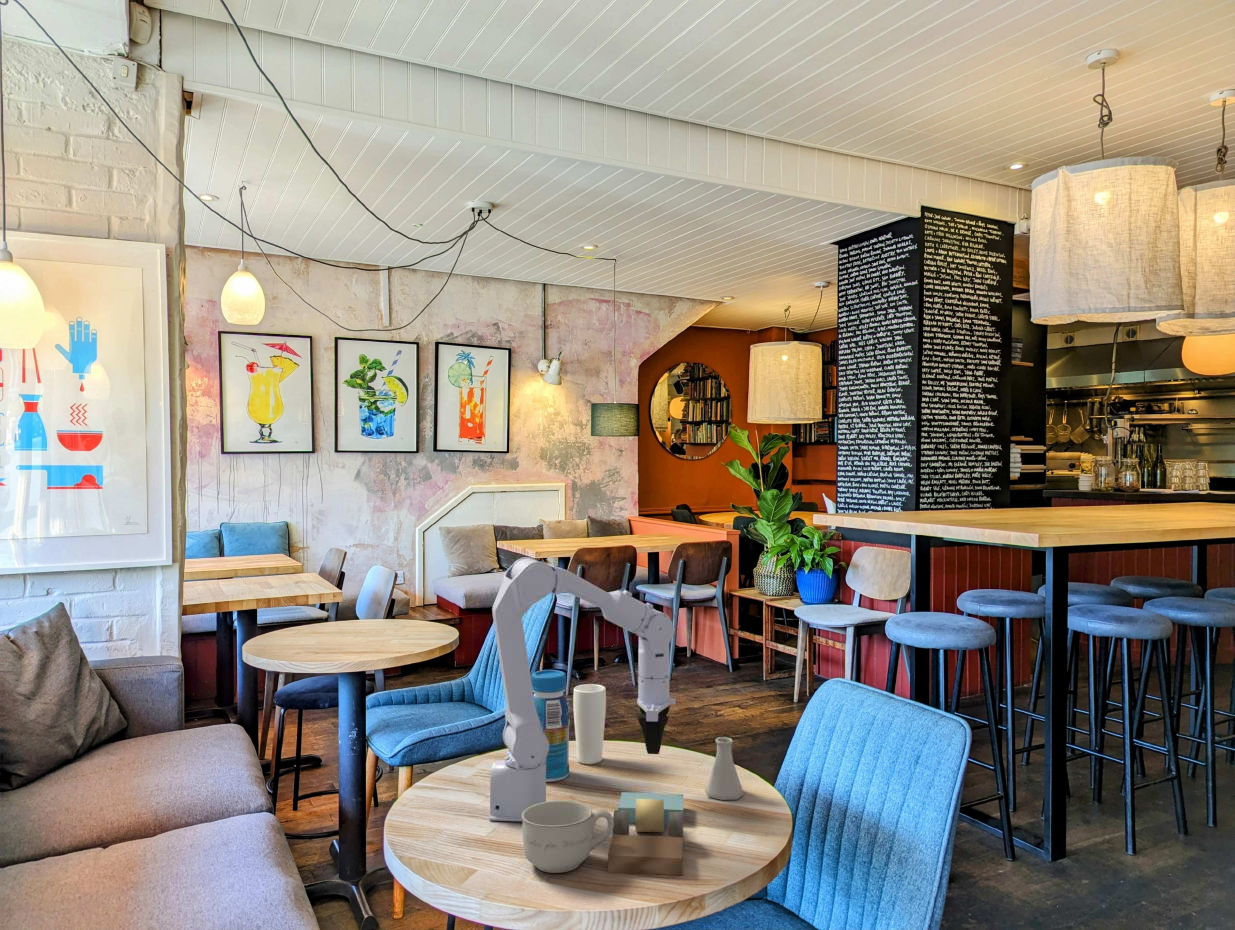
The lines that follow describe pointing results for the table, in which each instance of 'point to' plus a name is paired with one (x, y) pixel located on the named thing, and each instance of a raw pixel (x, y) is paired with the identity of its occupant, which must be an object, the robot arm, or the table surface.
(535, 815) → the teacup
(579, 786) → the table surface
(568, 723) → the beverage bottle
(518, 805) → the robot arm
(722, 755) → the flask
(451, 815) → the table surface
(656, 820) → the loose hinge leaf
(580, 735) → the drinking glass
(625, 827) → the fixed hinge leaf
